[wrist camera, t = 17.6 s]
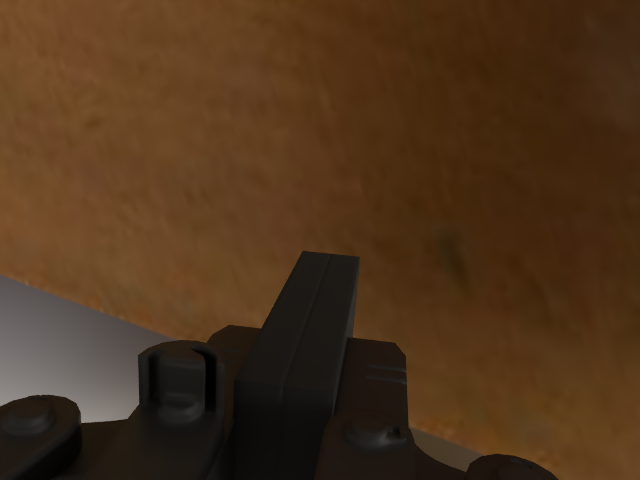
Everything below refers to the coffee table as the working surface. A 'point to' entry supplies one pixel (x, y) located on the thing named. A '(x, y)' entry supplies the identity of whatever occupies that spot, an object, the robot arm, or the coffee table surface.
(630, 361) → the coffee table surface
